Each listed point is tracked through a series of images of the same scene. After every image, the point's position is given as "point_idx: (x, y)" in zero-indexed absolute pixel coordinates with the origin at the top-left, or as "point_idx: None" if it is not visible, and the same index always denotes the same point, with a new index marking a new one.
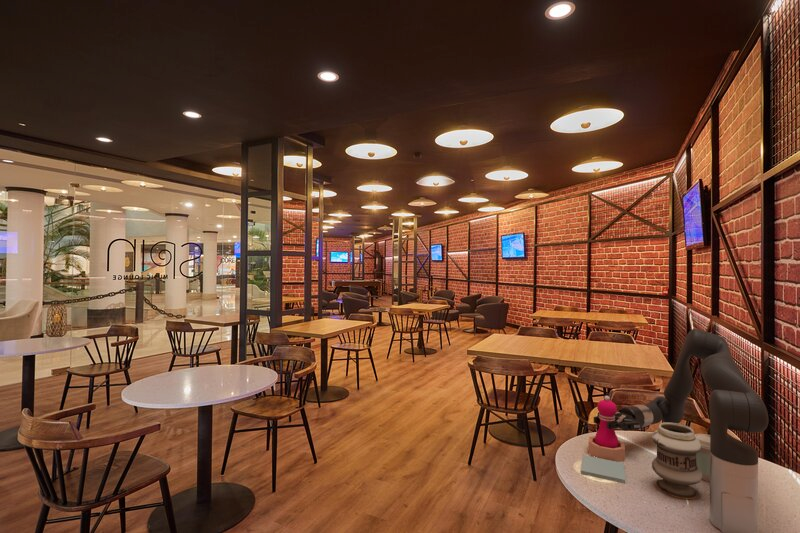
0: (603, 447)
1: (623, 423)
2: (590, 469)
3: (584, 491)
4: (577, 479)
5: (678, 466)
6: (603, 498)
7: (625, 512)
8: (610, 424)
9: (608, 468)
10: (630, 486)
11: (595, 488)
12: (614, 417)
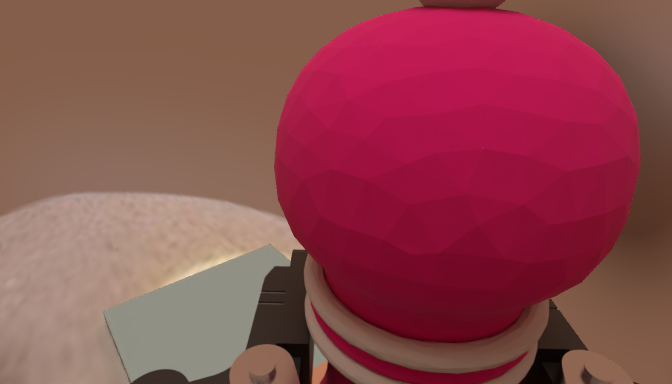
0: (314, 380)
1: (162, 373)
2: (254, 269)
3: (201, 210)
4: (253, 230)
5: None
6: (144, 219)
7: (71, 217)
8: (285, 270)
9: (207, 329)
10: (78, 322)
11: (185, 233)
12: (307, 292)
